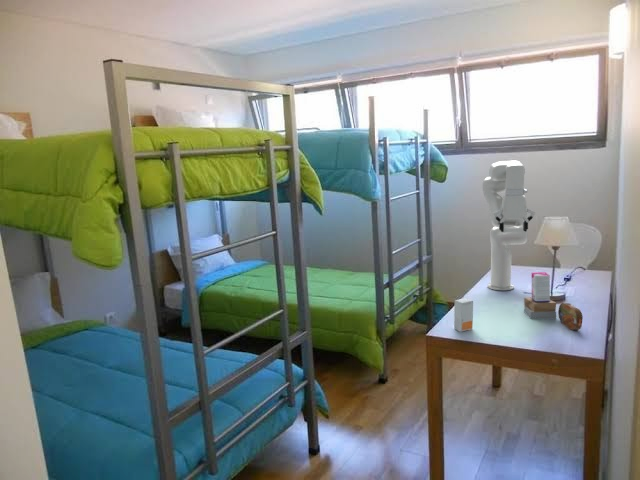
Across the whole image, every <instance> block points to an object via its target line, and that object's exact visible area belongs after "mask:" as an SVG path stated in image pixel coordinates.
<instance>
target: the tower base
mask: <svg viewBox="0 0 640 480" xmlns="http://www.w3.org/2000/svg"><path fill="white" fill-rule="evenodd" d="M523 306H524V305H523ZM523 311H524V313H525V314H526V315H527V316H528V318H529V319H530V320H533V319H534V320H535V319H536V320H557V311H546V312H533V311H532V310H530V309H529V308H527V307H526V306H524V307H523Z"/></svg>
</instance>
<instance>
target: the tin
mask: <svg viewBox="0 0 640 480" xmlns="http://www.w3.org/2000/svg"><path fill="white" fill-rule="evenodd" d="M557 313H558V319H559V321H560V322H561V324H562V325H564V326H565V327H566V328H568V329H569V330H571V331H573V330H574V331H575V330H577V331H578V330H580V329H581V328H582V326H583V317H584V316H583V314H582V311H581V309H580V308H577V307H576V306H574V305H572V303H569V302H562V303H560V305H559V307H558V312H557Z"/></svg>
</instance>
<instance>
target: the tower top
mask: <svg viewBox="0 0 640 480" xmlns="http://www.w3.org/2000/svg"><path fill="white" fill-rule="evenodd" d="M523 299H524V301H523V303H524V304H523V306H526V307H527V308H529V309H530V310H532V311H533V312H546V311H556V310H557V309H556V307H557V303H556V302H555V301H554V300H552V299H550V302H539V303H536V302H535V301H534V300H533V299H532V296H531V297H530V296H528V297H526V296H525V297H524V298H523ZM556 312H557V311H556Z"/></svg>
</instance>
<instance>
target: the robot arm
mask: <svg viewBox="0 0 640 480" xmlns="http://www.w3.org/2000/svg"><path fill="white" fill-rule="evenodd" d="M525 173H526V168H525V166H524V164H522V163H521V161H518V160H501V161H500V160H499V161H496V162H494V163H491V165H489V169H488V176H487V177H486V178H484V180H482V187H481V188H482V192H483V196H484V198H485V200H486V202H487V204H488V209H489V210H488V212H489V217H490V222H491V224H492V226H493V227H492V228H490V231H489V240H490V252H491V253H490V282H489V283H487V288H489V289H491V290H493V291H511V290H514V289H515V285H514V284H513V283H512V282H511V281H512V280H511V279H512V277H511V276H512V252H511V250H510V249H508V248H509V247H507V246H509V245H510V246H511V245H515V246H516V245H517V246H518V245H525V244H526V243H527V241H528V229H529V223H530V221H531V220H532V219H533V218H534V216H535V214H536V212H535V211H532V210H530V209H528V208H527V207H528V206H527V199H526V195H525V194H527V193H528V189H526V188H525ZM499 193H504V195H503V196H502V195H501V194H499ZM528 214H529V216H528V217H527V215H528Z"/></svg>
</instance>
